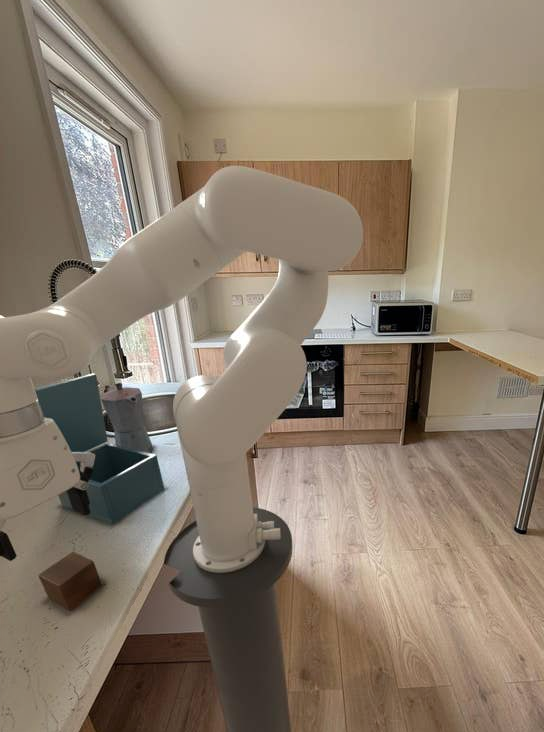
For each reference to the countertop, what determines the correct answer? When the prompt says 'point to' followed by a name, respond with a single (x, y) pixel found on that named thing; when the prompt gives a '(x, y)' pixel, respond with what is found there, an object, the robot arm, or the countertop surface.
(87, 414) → the bin lid
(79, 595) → the block
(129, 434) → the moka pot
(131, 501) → the bin
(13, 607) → the countertop surface
